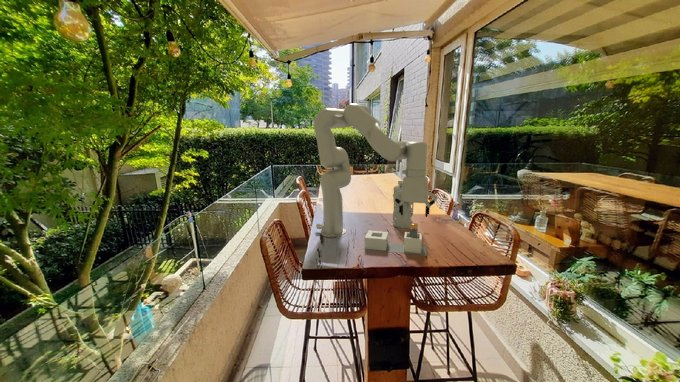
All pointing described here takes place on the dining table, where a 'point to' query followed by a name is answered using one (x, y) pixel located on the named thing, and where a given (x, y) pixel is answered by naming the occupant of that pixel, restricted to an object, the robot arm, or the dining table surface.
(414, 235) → the lock pin
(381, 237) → the dock board
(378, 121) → the robot arm
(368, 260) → the dining table surface
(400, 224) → the lantern
